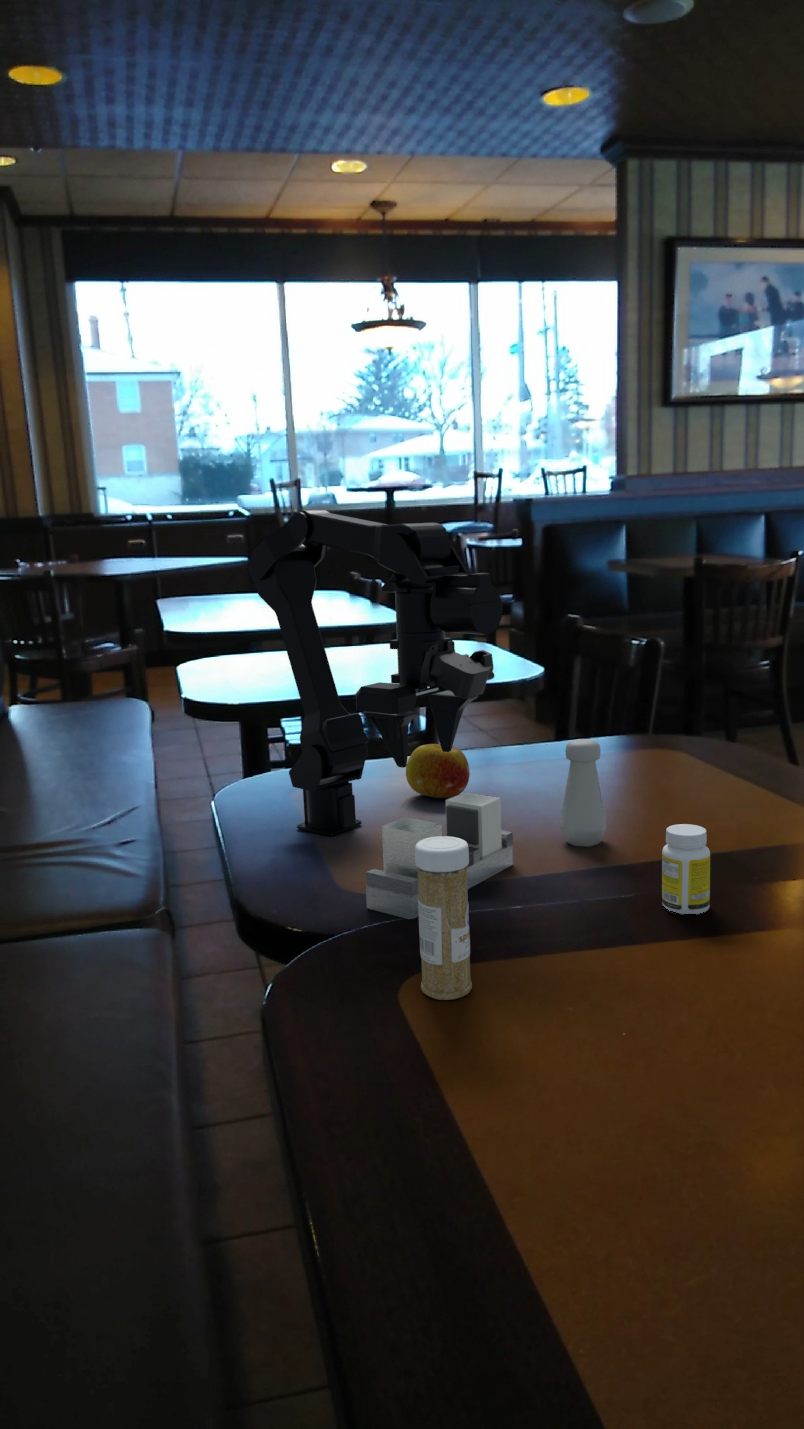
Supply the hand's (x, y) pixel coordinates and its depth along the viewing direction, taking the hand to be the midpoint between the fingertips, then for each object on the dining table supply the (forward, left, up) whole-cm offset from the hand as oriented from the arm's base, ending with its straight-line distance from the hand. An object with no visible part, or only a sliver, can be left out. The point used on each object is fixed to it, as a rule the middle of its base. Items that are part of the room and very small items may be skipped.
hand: (424, 759), depth 122 cm
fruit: (-14, +22, -12) cm, 29 cm away
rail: (+8, -8, -12) cm, 16 cm away
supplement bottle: (+33, 0, -12) cm, 35 cm away
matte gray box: (+8, -2, -10) cm, 13 cm away
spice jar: (+23, -29, -12) cm, 39 cm away
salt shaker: (+14, +14, -12) cm, 23 cm away
